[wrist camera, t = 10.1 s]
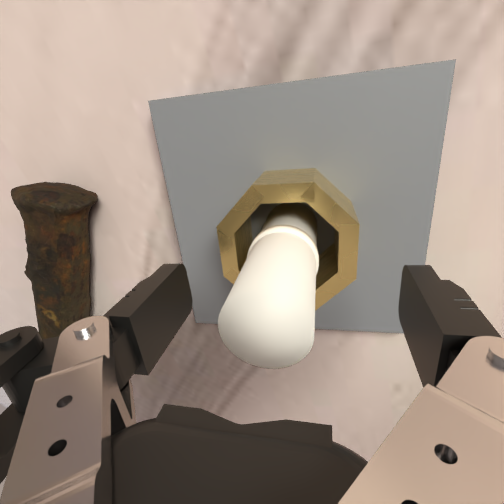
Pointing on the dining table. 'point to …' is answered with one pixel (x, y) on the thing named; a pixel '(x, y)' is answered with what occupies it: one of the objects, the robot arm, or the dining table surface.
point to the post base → (301, 213)
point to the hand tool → (57, 252)
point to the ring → (291, 191)
